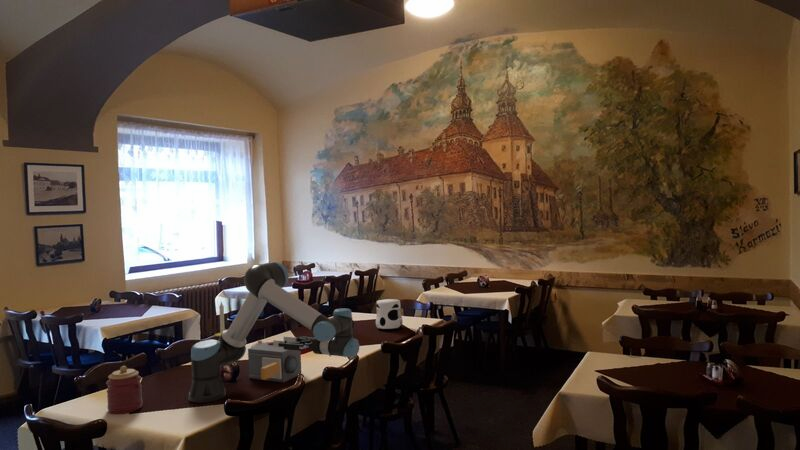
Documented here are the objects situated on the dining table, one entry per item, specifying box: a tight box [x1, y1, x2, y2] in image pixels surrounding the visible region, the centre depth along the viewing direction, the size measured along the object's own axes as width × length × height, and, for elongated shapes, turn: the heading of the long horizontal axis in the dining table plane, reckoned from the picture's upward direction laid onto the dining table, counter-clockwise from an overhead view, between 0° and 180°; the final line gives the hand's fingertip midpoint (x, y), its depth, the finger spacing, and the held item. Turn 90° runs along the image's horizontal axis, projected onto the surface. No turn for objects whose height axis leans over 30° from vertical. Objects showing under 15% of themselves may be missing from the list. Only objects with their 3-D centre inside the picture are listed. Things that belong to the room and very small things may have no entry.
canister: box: [105, 365, 144, 415], centre depth 234 cm, size 13×13×18 cm
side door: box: [261, 357, 282, 381], centre depth 258 cm, size 12×10×9 cm
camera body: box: [247, 341, 302, 383], centre depth 272 cm, size 15×22×15 cm
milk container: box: [375, 298, 403, 331], centre depth 369 cm, size 17×17×18 cm
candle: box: [213, 301, 226, 337], centre depth 299 cm, size 10×10×32 cm
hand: (279, 341), depth 249 cm, fingers open, 6 cm apart
